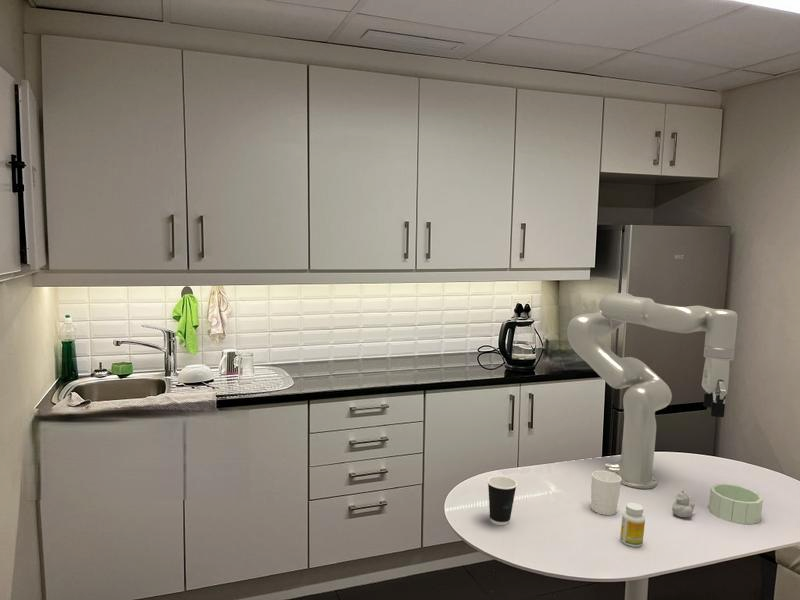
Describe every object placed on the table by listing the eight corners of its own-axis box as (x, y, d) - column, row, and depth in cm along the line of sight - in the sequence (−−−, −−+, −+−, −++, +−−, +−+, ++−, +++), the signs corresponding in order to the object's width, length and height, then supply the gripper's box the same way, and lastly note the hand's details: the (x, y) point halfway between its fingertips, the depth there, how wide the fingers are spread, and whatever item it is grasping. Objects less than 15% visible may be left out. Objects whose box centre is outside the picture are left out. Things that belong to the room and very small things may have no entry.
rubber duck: (666, 512, 169) (669, 485, 168) (686, 510, 171) (689, 483, 170) (679, 521, 164) (682, 493, 163) (699, 519, 166) (702, 491, 165)
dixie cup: (512, 530, 155) (515, 490, 154) (482, 525, 157) (484, 485, 156) (516, 517, 162) (519, 478, 161) (487, 512, 165) (489, 473, 163)
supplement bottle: (615, 539, 153) (618, 503, 152) (630, 535, 155) (634, 499, 154) (631, 549, 148) (635, 512, 147) (647, 545, 150) (650, 509, 149)
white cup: (619, 507, 171) (622, 474, 170) (617, 519, 164) (620, 484, 163) (590, 501, 174) (593, 468, 173) (587, 512, 167) (590, 478, 166)
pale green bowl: (712, 518, 166) (714, 497, 166) (706, 500, 178) (708, 480, 178) (764, 527, 162) (766, 506, 162) (754, 508, 174) (756, 488, 173)
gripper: (698, 346, 179) (692, 402, 180) (711, 357, 162) (705, 418, 164) (726, 348, 177) (720, 405, 178) (741, 360, 160) (735, 422, 162)
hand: (713, 411), depth 171 cm, fingers open, 9 cm apart
